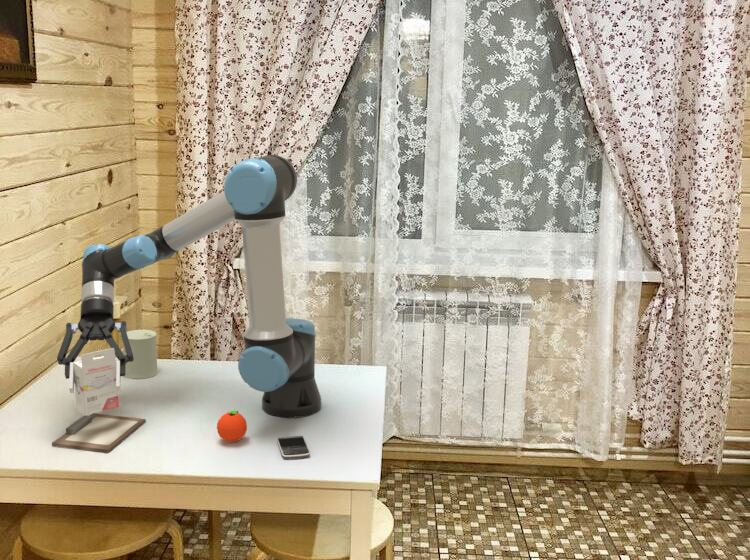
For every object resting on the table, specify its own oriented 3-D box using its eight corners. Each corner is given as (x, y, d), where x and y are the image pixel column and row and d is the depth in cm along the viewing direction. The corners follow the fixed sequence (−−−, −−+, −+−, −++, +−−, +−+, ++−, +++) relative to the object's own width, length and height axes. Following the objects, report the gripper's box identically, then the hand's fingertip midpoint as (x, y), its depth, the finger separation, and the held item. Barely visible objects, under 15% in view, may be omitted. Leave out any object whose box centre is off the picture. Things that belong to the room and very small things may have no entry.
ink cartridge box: (109, 401, 207) (107, 342, 203) (119, 407, 203) (116, 347, 199) (74, 409, 201) (71, 349, 197) (84, 416, 197) (81, 355, 194)
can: (149, 380, 238) (147, 338, 235) (118, 377, 240) (116, 336, 237) (163, 369, 247) (162, 329, 244) (133, 366, 249) (131, 326, 246)
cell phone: (283, 462, 192) (283, 456, 192) (276, 441, 202) (276, 436, 202) (310, 459, 194) (310, 454, 193) (302, 439, 204) (302, 434, 204)
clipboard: (145, 422, 210) (145, 413, 210) (108, 453, 193) (108, 443, 193) (93, 416, 213) (92, 407, 213) (52, 446, 196) (51, 437, 196)
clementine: (224, 431, 206) (224, 403, 204) (252, 434, 205) (252, 406, 203) (212, 445, 199) (212, 416, 197) (241, 448, 197) (241, 419, 196)
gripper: (145, 310, 214) (145, 393, 203) (50, 313, 209) (45, 398, 198) (144, 295, 208) (144, 380, 197) (46, 297, 203) (41, 385, 192)
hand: (94, 389), depth 198 cm, fingers closed on ink cartridge box, 9 cm apart
